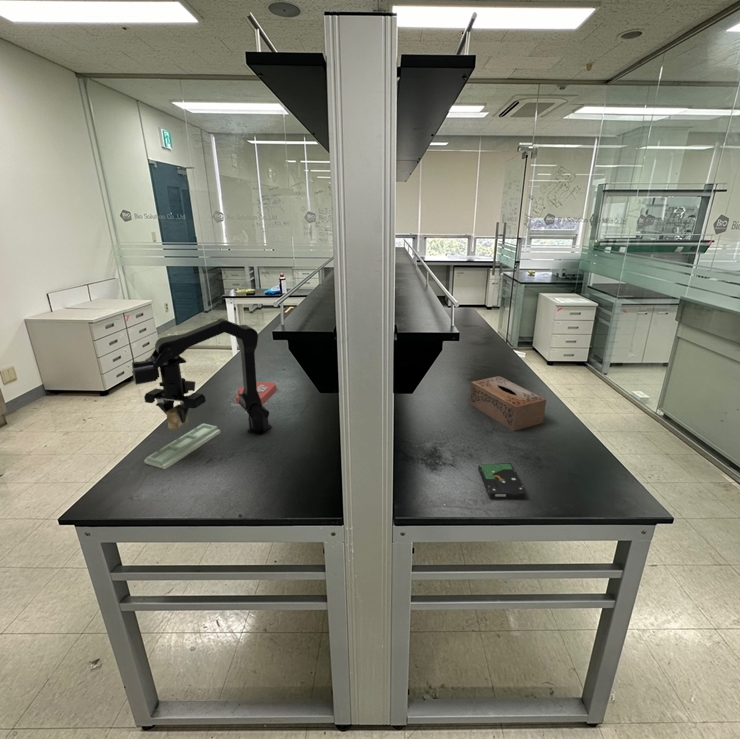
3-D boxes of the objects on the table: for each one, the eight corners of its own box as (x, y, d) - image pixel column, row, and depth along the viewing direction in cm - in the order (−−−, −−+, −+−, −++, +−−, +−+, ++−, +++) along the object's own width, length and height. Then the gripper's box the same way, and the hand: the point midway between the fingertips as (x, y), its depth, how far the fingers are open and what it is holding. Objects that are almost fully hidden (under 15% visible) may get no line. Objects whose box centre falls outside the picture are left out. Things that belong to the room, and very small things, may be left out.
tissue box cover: (542, 423, 157) (546, 399, 154) (512, 431, 152) (515, 407, 148) (497, 397, 179) (499, 376, 176) (469, 404, 174) (471, 381, 170)
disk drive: (526, 501, 117) (510, 469, 131) (527, 492, 116) (511, 462, 130) (489, 501, 117) (477, 469, 131) (490, 493, 116) (477, 462, 130)
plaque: (246, 379, 193) (277, 381, 190) (247, 387, 194) (278, 389, 192) (227, 395, 177) (260, 398, 174) (228, 404, 178) (261, 406, 175)
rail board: (220, 432, 154) (219, 426, 153) (165, 469, 133) (163, 462, 132) (202, 428, 157) (200, 422, 156) (144, 463, 136) (143, 456, 135)
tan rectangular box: (189, 421, 140) (187, 405, 138) (178, 430, 135) (175, 413, 133) (180, 420, 141) (178, 404, 139) (168, 428, 135) (165, 412, 133)
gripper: (212, 371, 137) (218, 414, 143) (163, 366, 141) (170, 408, 147) (191, 384, 127) (198, 429, 132) (139, 378, 131) (147, 422, 137)
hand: (178, 421), depth 137 cm, fingers closed on tan rectangular box, 3 cm apart
